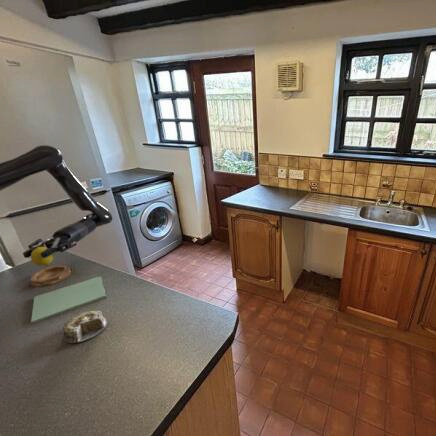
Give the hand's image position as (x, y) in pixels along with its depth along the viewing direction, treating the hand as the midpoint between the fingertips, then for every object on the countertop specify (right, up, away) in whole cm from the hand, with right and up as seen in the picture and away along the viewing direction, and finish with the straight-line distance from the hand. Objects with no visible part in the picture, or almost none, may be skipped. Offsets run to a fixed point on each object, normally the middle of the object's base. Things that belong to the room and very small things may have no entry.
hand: (33, 255), depth 85 cm
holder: (0, -9, +7) cm, 11 cm away
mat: (+16, -14, -3) cm, 21 cm away
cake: (+31, -20, -15) cm, 40 cm away
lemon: (0, -5, +5) cm, 7 cm away
